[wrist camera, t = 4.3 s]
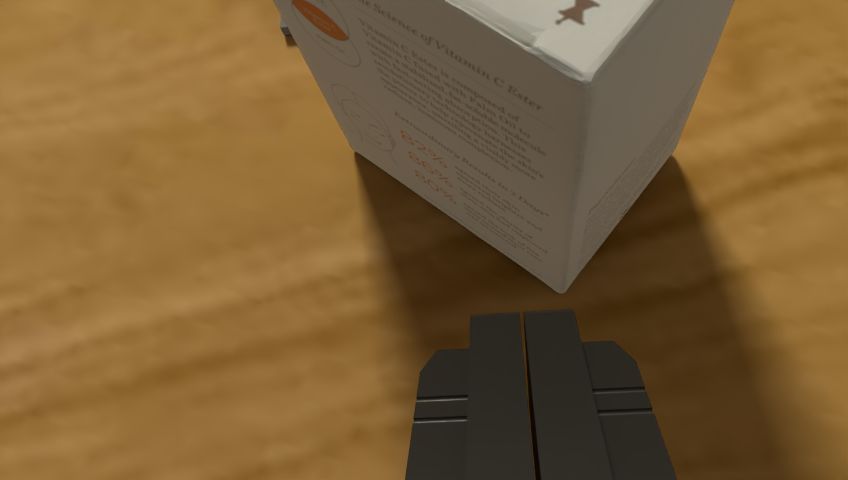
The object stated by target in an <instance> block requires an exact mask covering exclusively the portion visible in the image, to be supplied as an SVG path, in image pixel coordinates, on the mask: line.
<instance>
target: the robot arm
mask: <svg viewBox="0 0 848 480" xmlns="http://www.w3.org/2000/svg"><path fill="white" fill-rule="evenodd" d="M524 331H525V347H526V363H527V378H528V394H529V408H530V422H531V434H532V445H533V455H534V466H535V477H536V480H677V479H676V476H675V473H674V470H673V467H672V464H671V461H670V458H669V455H668V453H667V450H666V447H665V444H664V441H663V438H662V435H661V432H660V430H659V427H658V424H657V421H656V418H655V415H654V413H652V407H651V404H650V401H649V398H648V395H647V392H645V386H644V383H643V381H642V378H641V375H640V372H639V369H638V366H637V363H636V361H635V360H634V359H633V358H632V357H630V356H629V355H628V354H627V353H626V352H625V351H624V350H623V349H622V348H621V347H620V346H618V345H617V344H616V343H615V342H614V341H601V342H582V343H581V339H580V335H579V331H578V327H577V322H576V318H575V314H574V310H573V309H562V310H545V311H528V312H524ZM532 445H531V435H530V424H529V413H528V402H527V391H526V380H525V369H524V359H523V348H522V337H521V326H520V315H519V312H514V313H497V314H479V315H471V317H470V346H469V349H453V350H437V351H436V353H435V354H434V355H433V356H432V358H431V359H430V360H429V362H428V363H427V364H426V365H425V367H424V368H423V369H422V370H421V372H420V377H419V384H418V391H417V402H416V406H415V413H414V423H413V427H412V434H411V441H410V448H409V456H408V463H407V470H406V477H405V480H535V478H534V467H533V456H532Z"/></svg>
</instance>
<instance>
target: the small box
mask: <svg viewBox="0 0 848 480" xmlns="http://www.w3.org/2000/svg"><path fill="white" fill-rule="evenodd" d="M273 1H274V3H275V5H276V6H277V8H278V10H279V12H280V14H281V16H282V18H283V19H284V21H285V23H286V25H287V27H288V29H289V31H290V33H291V35H292V37H293V38H294V40H295V42H296V44H297V46H298V48H299V50H300V51H301V53H302V55H303V57H304V59H305V61H306V63H307V65H308V67H309V69H310V70H311V72H312V74H313V76H314V78H315V80H316V82H317V84H318V86H319V87H320V89H321V91H322V93H323V95H324V97H325V99H326V100H327V102H328V104H329V106H330V108H331V110H332V112H333V114H334V116H335V118H336V120H337V122H338V123H339V125H340V127H341V129H342V131H343V133H344V135H345V137H346V138H347V140H348V142H349V145H350V147H351V148H352V149H353V150H354V151H356V152H357V153H359V154H360V155H362V156H363V157H365V158H366V159H368V160H369V161H371V162H372V163H374V164H375V165H376V166H378V167H379V168H381V169H382V170H384V171H385V172H386V173H388V174H389V175H391V176H392V177H394V178H395V179H397V180H398V181H399V182H401V183H402V184H404V185H405V186H407V187H408V188H410V189H411V190H412V191H414V192H415V193H417V194H418V195H419V196H421V197H422V198H424V199H425V200H427V201H428V202H429V203H431V204H432V205H434V206H435V207H437V208H438V209H440V210H441V211H442V212H444V213H445V214H447V215H448V216H450V217H451V218H452V219H454V220H455V221H457V222H458V223H460V224H461V225H462V226H464V227H465V228H467V229H468V230H469V231H471V232H472V233H474V234H475V235H477V236H478V237H479V238H481V239H482V240H484V241H485V242H487V243H488V244H490V245H491V246H493V247H494V248H495V249H497V250H498V251H500V252H501V253H503V254H504V255H506V256H507V257H509V258H510V259H511V260H513V261H514V262H516V263H517V264H518V265H520V266H521V267H523V268H524V269H526V270H527V271H528V272H530V273H531V274H533V275H534V276H536V277H537V278H538V279H540V280H541V281H543V282H544V283H545V284H547V285H548V286H549V287H551V288H552V289H553V290H554V291H556V292H557V293H560V294H563V293H565V292H566V291H567V289H568V288H569V286H570V285H571V284H572V282H573V281H574V280H575V278H576V277H577V276H578V274H579V273H580V272H581V270H582V269H583V268H584V267H585V265H586V264H587V263H588V262H589V260H590V259H591V258H592V256H593V255H594V254H595V253H596V251H597V250H598V249H599V247H600V246H601V245H602V243H603V242H604V241H605V240H606V238H607V237H608V236H609V234H610V233H611V232H612V231H613V229H614V228H615V227H616V225H617V224H618V223H619V222H620V220H621V219H622V218H623V216H624V215H625V214H626V213H627V211H628V210H629V209H630V207H631V206H632V205H633V203H634V202H635V201H636V200H637V198H638V197H639V196H640V194H641V193H642V192H643V191H644V189H645V188H646V187H647V185H648V184H649V183H650V182H651V180H652V179H653V178H654V176H655V175H656V174H657V172H658V171H659V170H660V169H661V167H662V166H663V165H664V163H665V162H666V161H667V159H668V158H669V157H670V155H671V154H672V153H673V152H674V150H675V149H676V146H677V144H678V141H679V138H680V136H681V133H682V131H683V129H684V126H685V124H686V121H687V119H688V116H689V114H690V112H691V109H692V107H693V104H694V102H695V99H696V96H697V94H698V91H699V89H700V86H701V84H702V81H703V79H704V76H705V74H706V72H707V69H708V66H709V63H710V61H711V59H712V56H713V54H714V51H715V49H716V46H717V44H718V41H719V39H720V36H721V34H722V31H723V29H724V26H725V24H726V21H727V18H728V16H729V13H730V10H731V8H732V5H733V3H734V1H735V0H273Z"/></svg>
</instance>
